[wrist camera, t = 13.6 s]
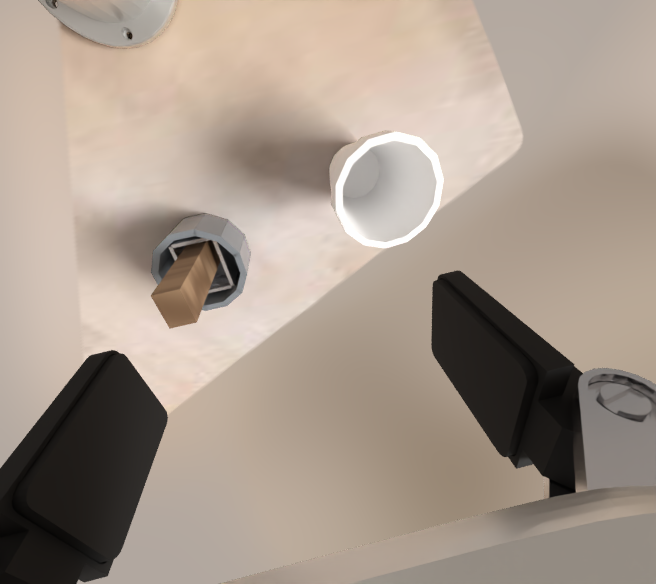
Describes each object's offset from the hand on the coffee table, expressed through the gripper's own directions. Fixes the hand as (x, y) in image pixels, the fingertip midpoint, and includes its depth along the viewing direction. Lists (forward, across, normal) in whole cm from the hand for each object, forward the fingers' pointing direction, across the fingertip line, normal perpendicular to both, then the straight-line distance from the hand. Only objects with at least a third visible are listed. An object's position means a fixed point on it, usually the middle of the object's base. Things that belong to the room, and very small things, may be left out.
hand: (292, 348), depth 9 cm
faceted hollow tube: (+30, +11, +7) cm, 33 cm away
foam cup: (+31, -9, +1) cm, 32 cm away
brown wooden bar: (+30, +11, +6) cm, 32 cm away
